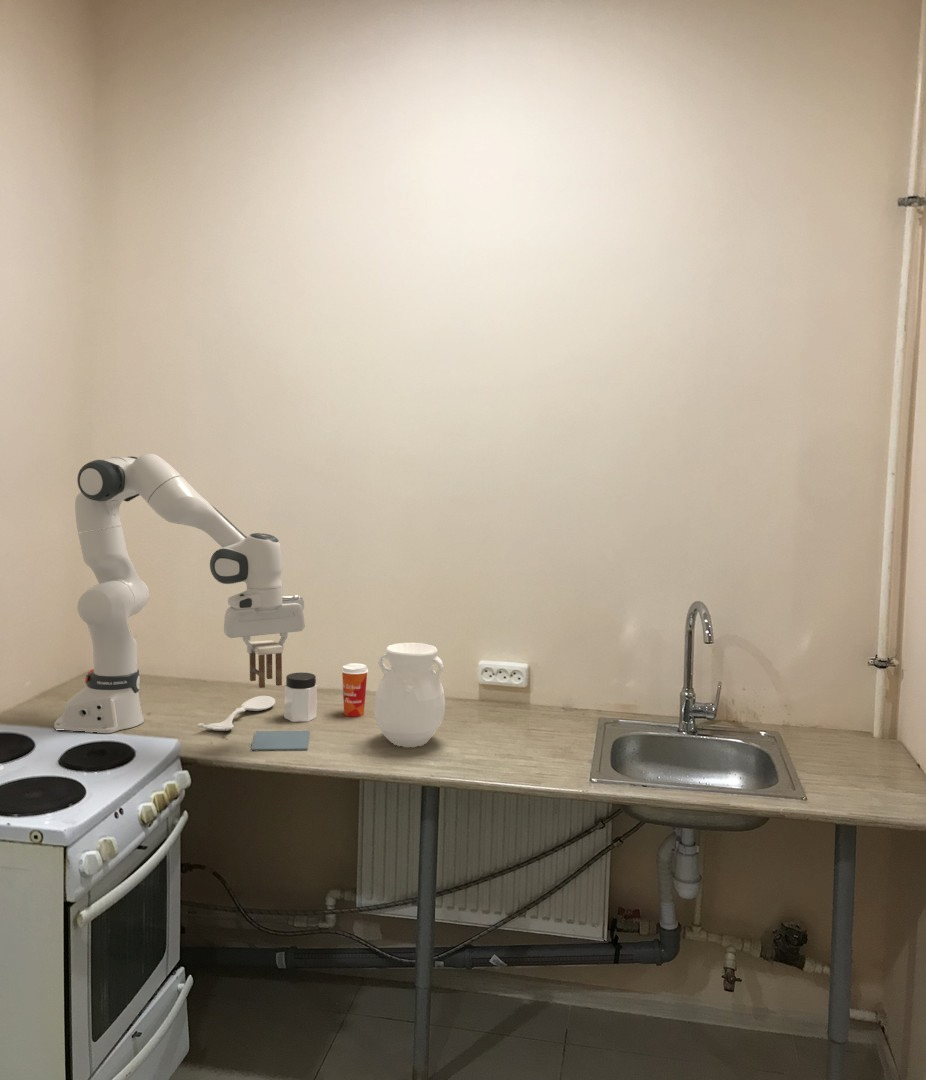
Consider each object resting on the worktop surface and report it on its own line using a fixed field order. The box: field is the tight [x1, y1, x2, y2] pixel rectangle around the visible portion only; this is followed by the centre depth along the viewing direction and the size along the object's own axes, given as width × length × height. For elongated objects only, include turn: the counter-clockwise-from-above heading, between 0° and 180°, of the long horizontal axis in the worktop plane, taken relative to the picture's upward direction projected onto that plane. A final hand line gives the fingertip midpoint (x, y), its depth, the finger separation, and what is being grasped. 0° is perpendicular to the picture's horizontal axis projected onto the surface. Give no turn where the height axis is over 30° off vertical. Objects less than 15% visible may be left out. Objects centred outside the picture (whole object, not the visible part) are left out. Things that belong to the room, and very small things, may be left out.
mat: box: [250, 730, 310, 752], centre depth 238 cm, size 14×14×1 cm
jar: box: [283, 672, 318, 723], centre depth 257 cm, size 9×8×12 cm
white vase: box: [373, 642, 446, 748], centre depth 240 cm, size 19×18×25 cm
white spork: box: [197, 695, 276, 732], centre depth 255 cm, size 9×32×4 cm, turn 166°
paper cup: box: [340, 663, 369, 718], centre depth 262 cm, size 8×8×14 cm
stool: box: [249, 639, 284, 689], centre depth 234 cm, size 9×6×10 cm, turn 30°
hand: (265, 651), depth 234 cm, fingers closed on stool, 6 cm apart
